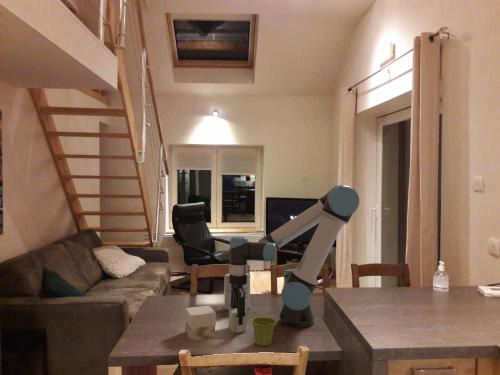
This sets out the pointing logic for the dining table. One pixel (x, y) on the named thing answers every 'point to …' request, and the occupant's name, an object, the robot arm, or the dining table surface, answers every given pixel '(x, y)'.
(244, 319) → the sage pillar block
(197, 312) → the tower top block
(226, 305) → the supplement box
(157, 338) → the dining table surface
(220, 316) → the dining table surface
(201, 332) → the tower bottom block
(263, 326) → the plant pot
